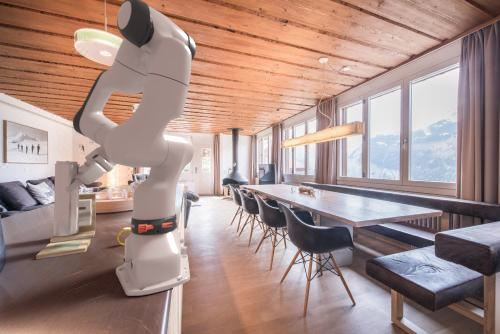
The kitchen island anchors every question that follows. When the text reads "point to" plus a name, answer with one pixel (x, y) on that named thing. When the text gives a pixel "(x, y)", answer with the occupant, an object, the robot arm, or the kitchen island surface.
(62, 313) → the kitchen island surface
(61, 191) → the white tall cylinder
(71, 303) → the kitchen island surface
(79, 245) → the dock pad
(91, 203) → the mounted unit
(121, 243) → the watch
